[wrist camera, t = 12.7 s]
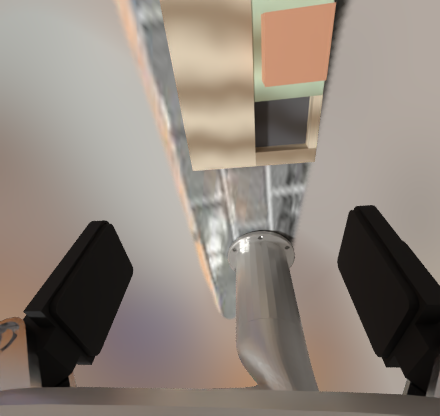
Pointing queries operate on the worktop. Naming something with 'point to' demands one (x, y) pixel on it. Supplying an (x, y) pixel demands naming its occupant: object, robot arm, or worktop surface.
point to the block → (296, 44)
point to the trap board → (237, 87)
